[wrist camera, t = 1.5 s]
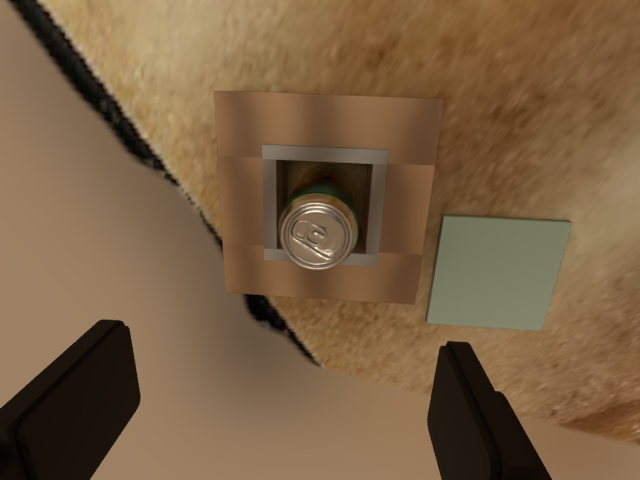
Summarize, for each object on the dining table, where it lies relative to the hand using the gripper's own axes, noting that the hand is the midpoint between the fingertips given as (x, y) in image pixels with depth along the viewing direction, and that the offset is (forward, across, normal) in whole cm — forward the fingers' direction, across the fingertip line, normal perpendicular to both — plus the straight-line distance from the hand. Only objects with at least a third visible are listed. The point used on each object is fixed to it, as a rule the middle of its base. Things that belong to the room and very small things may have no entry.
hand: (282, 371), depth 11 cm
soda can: (+24, 0, 0) cm, 24 cm away
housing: (+24, 0, 0) cm, 24 cm away
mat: (+23, -16, +7) cm, 29 cm away
